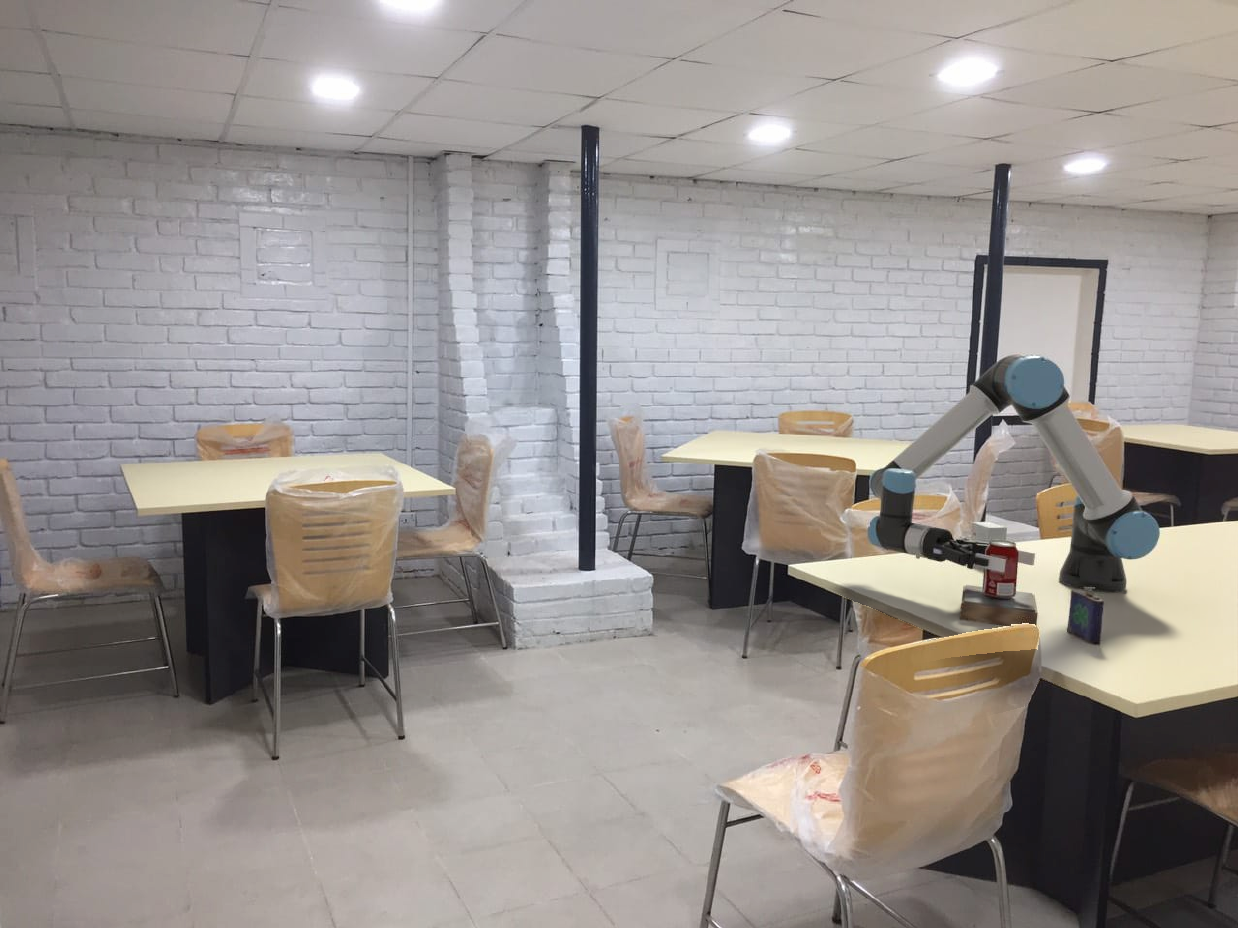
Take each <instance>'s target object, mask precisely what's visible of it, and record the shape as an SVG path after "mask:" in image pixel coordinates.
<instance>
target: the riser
mask: <svg viewBox="0 0 1238 928" xmlns="http://www.w3.org/2000/svg"><path fill="white" fill-rule="evenodd" d="M982 590H983V586H978V585H970V584H969V585H968V584H965V585H963V587H962V593H961V594H962V596H961V606H960V616H959V619H960V620H963V621H970V622H976V621H978V622H977V623H983V622H984V624H991V623H993V624H992V625H998V624H999V625H998V626H1005V625H1011V624H1022V623H1029V624H1035V625H1036V626H1037V624H1038V623H1037V622H1038V615H1039V613H1038V606H1037V601H1036V596H1035V594H1033V593H1032V592H1026V591H1018V590H1016V595H1015V596H1014V597H1012V598H1010V599H1004V600H1002V599H994V598H990V597H988V596H987V595H986V594H984V593H983V592H982Z"/></svg>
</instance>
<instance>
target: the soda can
mask: <svg viewBox="0 0 1238 928" xmlns="http://www.w3.org/2000/svg"><path fill="white" fill-rule="evenodd" d="M1016 546H1017V543H1016V542H1014V541H1011V540H1007V539H1006V540H990V541H989V545H988V546H987V548H986V549H985V555H988V556H992V557H997V558H1001V559H1006V562H1005V572H999V571H994V570H990V569H986V568H983V579H982V587H983V590H982V592H983V593H984V594H986V595H987V596H988V597H990V598H994V599H1002V600H1004V599H1010V598H1012V597H1014V596H1015V595H1016V591H1017V582H1018V581H1017V579H1018V578H1017V577H1018V567H1019V563H1018V556H1019V552H1018V550H1019V549H1018V548H1017V547H1016ZM1017 549H1018V550H1017Z"/></svg>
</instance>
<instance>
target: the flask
mask: <svg viewBox="0 0 1238 928" xmlns="http://www.w3.org/2000/svg"><path fill="white" fill-rule="evenodd" d="M1093 589H1095V587H1093V588H1092V587H1084V589H1083V590H1085V591H1083V590H1080V589H1071V590H1070V600H1069V601H1070V602H1069V603H1070V604H1069V609H1068V610H1069V611H1068V612H1069V613H1068V621H1067V627H1066V631H1067V633H1069V634H1072V635H1073V636H1075V637H1077V638H1078V639H1081V640H1083V641H1084V642H1086V643H1088V644H1091V645H1095V646H1099V645H1101V637H1102V636H1101V635H1102V627H1103V626H1102V625H1103V615H1104V605H1105V601H1104V600H1103V599H1102V598H1100V596H1097V595H1096V592H1095V591H1093Z"/></svg>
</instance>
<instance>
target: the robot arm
mask: <svg viewBox="0 0 1238 928" xmlns="http://www.w3.org/2000/svg"><path fill="white" fill-rule="evenodd" d="M1070 397H1071V394H1069V392H1068V390H1067V389H1066V387H1065V378H1064V373H1063V371H1062V370H1061V368H1060V367H1059V366H1058V365H1057V364H1056V363H1055V362H1053V360H1051V359H1049V358H1047V357H1045V356H1042V355H1038V354H1026V355H1024V354H1011V355H1007V356H1004V357H1002V358H1000V359H999V360H998V361H997V362H995V363H994V364H993V365H992V366H990V368H988V369H987V370H986V371H985V372H983V374H981V376H980V377H978V378H977V380H976V381H974V382H973V383H972V384H970V385H969V391H968V393H967V394H966V395H965V396H963V397H962V398H961V399H960V400H959V401H958V402H956V403H955V405H953V406H952V407H951V408H950V409H949V410H948V411H947V412H946V413H945V414H943V415H942V416H941V417H940V418H939V419H938V420H936V421H935V422H934V423H933V424H932V425H931V426H929V427H928V428H927V430H925V431H924V432H922V434H921V435H919V436H918V438H916V439H915V440H914V441H912V443H911V444H909V445H908V446H907V447H906V448H905V449H903V451H902V452H900V453H899V454H898V455H897V456H896V457H895V458H893V459H892V460H891V461H890V462H888V464H887V465H886V466H884V467H881V468H879V469H876V470H875V471H873V472H872V473H871V475H870V477H869V480H868V485H869V489H870V491H871V492H872V494H873V495H874V497H876V498H878V499H879V500H880V508H879V509H880V510H879V515H877V516H874V517H873V518H872V519H871V520H870V522H869V526H868V527H867V531H866V533H867V539H868V541H869V542H870V544H872V545H873V546H875V547H878V548H881V549H884V550H886V551H892V552H893V551H894V552H898V553H902V554H907V555H910V556H915V559H918V560H919V559H920V558H924V559H927V560H929V561H930V560H931V561H935V562H940V563H941V562H945V561H948V562H951V563H954V564H957V565H960V566H961V567H967V569H969V570H973V569H974V567H978V568H982V569H984V568H986V569H990V570H994V571H999V572H1005V562H1006V559H1001V558H997V557H992V556H988V555H985V549H986V548H987V546H988V545H989V543H988V542H980V541H974V540H971V539H969V538H965V539H962V538H956V539H954V536H953V534H952V533H951V531H950V530H948V529H944V528H940V527H937V526H936V527H934V526H931V525H926V524H922V523H918V522H917V523H916V522H913V517H914V516H913V515H914V503H915V494H916V488H917V485H916V481H917V480H918V479H919V478H921V477H922V476H923V474H925V473H926V472H928V470H930V469H931V468H932V467H933V466H934V465H935V464H936V463H938V462H939V461H940V460H941V459H942V458H944V457H945V456H946V455H947V454H948V453H950V451H952V450H953V449H954V448H955V447H956V446H957V445H958V444H960V443H961V442H962V441H963V440H965V438H966V437H967V436H969V435H970V434H971V433H973V432H974V430H975V429H977V428H978V427H979V426H980V425H982V424H983V423H984V422H985V421H986V420H987V419H988V418H989V417H991V416H992V415H999V414H1000V413H1001V412H1003V411H1004V410H1005V409H1006V408H1008V407H1010V406H1012V407H1013V409H1014V411H1015V412H1016V413H1017V415H1018V417H1019V418H1020V419H1021V422H1023V423H1026V424H1032V425H1033V428H1035V430H1036V432H1037V434H1038V435H1039V436H1040V438H1041V439H1042V442H1043V443H1044V445H1045V446H1046V448H1047V449H1048V451H1049V452H1050V454H1051V455H1052V457H1053V458H1054V461H1056V463H1057V464H1058V467H1059V468H1060V469H1061V471H1062V473H1063V474H1064V476H1065V477H1066V479H1067V481H1068V482H1069V484H1070V485H1071V487H1072V488H1073V490H1074V491H1075V493H1076V497H1075V501H1074V505H1073V516H1072V527H1071V537H1070V547H1069V552H1068V554H1067V556H1066V558H1065V560H1064V563H1063V564H1062V567H1061V568H1060V570H1059V571H1060V572H1059V574H1058V575H1059V577H1058V581H1059V582H1060V583H1062V584H1065V585H1067V586H1070V587H1073V588H1077V589H1082V590H1085V589H1084V587H1092V588H1093V587H1095V589H1093V590H1092V591H1093V592H1095V591H1096V592H1106V593H1107V592H1108V593H1115V592H1114V591H1119V592H1121V591H1120V590H1124V591H1125V590H1126V589H1127V575H1126V571H1125V568H1124V564H1123V560H1122V559H1125V560H1138V559H1141V558H1144V557H1146V556H1148V554H1150V553H1151V552H1152V551H1153V550H1154V549H1155V548H1156V547H1157V544H1158V541H1159V538H1160V533H1161V532H1160V526H1159V524H1158V522H1157V520H1156V519H1155V518H1154V517H1153V516H1152V515H1151V514H1150V513H1148V512H1147V511H1144V510H1143V509H1142V507H1141V505H1140V504H1139V502H1138V501H1137V500H1136V498H1135V496H1134V495H1133V493H1132V492H1131V491H1130V490H1125V489H1122V488H1121V487H1120V486H1119V483H1118V482H1117V481H1116V480H1115V478H1114V477H1113V474H1112V473H1111V472H1110V469H1108V467H1107V465H1106V463H1105V462H1104V461H1103V459H1102V457H1101V456H1100V454H1099V452H1098V451H1097V450H1096V447H1095V446H1094V445H1093V443H1092V441H1091V440H1090V439H1089V438H1090V437H1088V434H1087V433H1086V432H1085V430H1084V429H1083V427H1082V426H1081V424H1080V422H1079V421H1078V419H1077V418H1076V417H1075V415H1074V413H1073V411H1072V410H1071V408H1070V407H1069V401H1070ZM1017 550H1018V552H1019V556H1018V564H1024V565H1028V566H1035V557H1036V552H1033V551H1027V550H1023V549H1018V548H1017ZM970 551H971V552H970Z"/></svg>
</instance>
